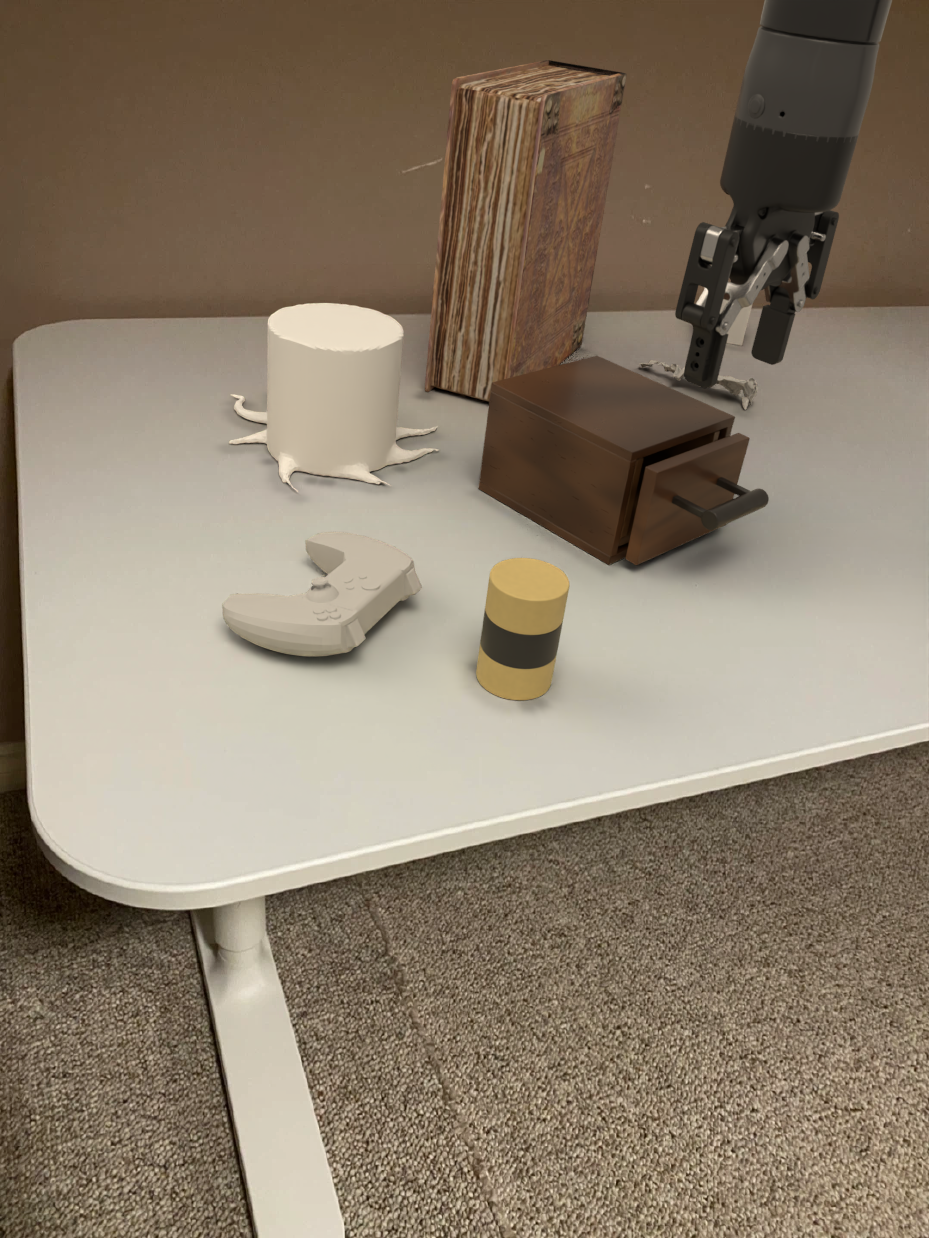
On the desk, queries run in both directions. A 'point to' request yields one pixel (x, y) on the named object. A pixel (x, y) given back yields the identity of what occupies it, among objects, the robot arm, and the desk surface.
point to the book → (519, 220)
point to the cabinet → (583, 445)
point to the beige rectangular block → (738, 325)
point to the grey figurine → (727, 382)
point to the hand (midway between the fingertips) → (733, 372)
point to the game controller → (328, 598)
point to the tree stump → (332, 392)
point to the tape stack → (521, 628)
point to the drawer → (686, 495)
